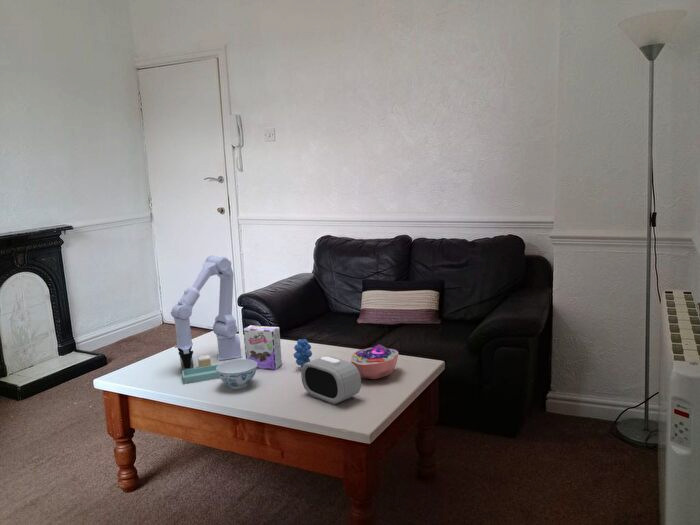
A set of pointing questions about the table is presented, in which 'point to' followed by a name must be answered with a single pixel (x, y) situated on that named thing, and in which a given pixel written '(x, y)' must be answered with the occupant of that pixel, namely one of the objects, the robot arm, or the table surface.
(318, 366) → the alarm clock
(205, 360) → the carton
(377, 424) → the table surface
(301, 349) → the grapes
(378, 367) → the cell model
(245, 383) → the chinaware
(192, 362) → the tin
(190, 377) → the tray
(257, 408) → the table surface
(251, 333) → the candy box
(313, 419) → the table surface
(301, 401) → the table surface
